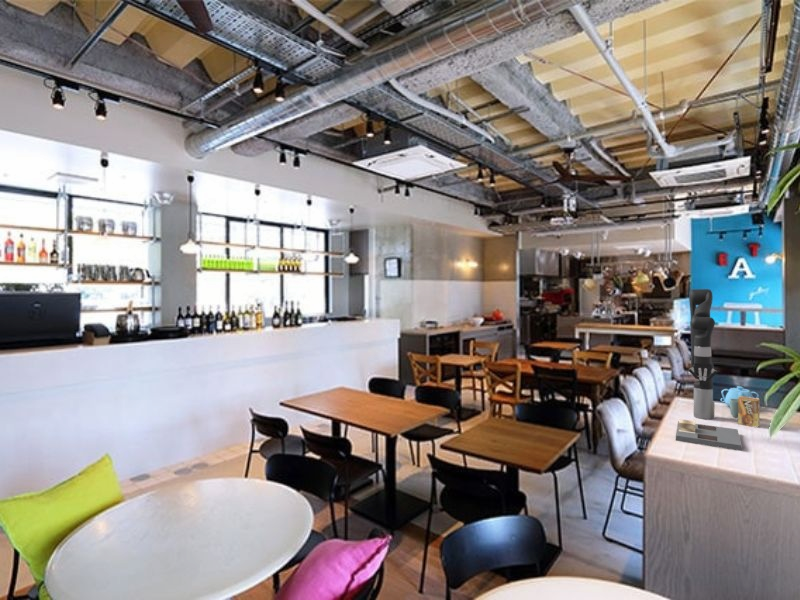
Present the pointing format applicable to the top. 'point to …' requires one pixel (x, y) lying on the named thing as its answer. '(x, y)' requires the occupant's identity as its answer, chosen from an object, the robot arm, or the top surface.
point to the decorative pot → (736, 394)
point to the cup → (734, 407)
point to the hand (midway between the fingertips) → (702, 387)
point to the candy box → (748, 411)
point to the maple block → (686, 425)
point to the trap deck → (711, 436)
